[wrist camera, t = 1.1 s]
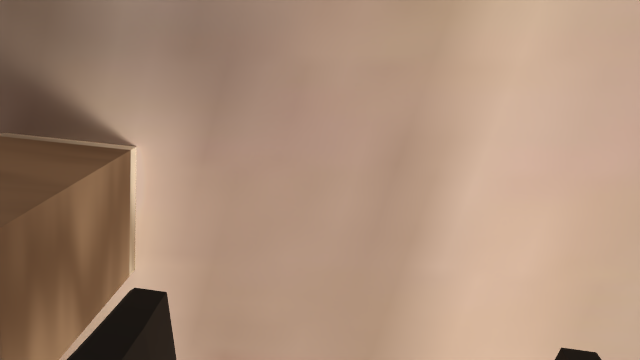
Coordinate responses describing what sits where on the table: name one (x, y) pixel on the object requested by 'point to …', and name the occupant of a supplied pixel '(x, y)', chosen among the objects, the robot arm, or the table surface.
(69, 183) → the walnut block
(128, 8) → the table surface
